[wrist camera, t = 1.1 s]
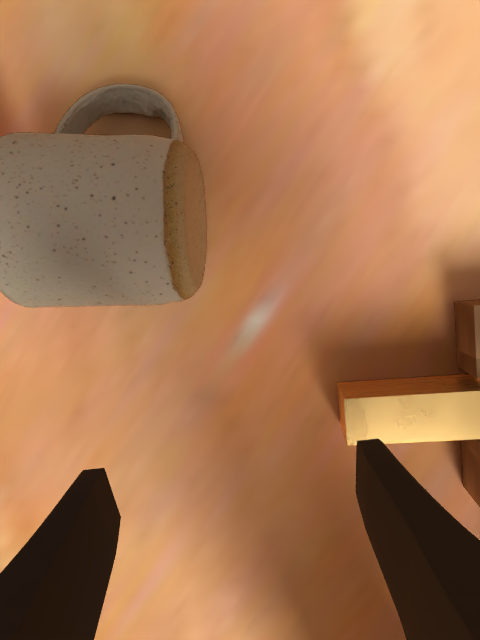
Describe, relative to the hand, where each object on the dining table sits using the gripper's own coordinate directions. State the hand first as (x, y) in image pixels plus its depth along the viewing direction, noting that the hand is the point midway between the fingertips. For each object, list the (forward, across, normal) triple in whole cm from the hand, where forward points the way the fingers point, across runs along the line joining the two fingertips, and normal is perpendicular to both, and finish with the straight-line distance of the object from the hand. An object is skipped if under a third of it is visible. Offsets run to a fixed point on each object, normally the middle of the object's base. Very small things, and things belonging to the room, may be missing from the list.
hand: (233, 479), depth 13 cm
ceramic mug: (+15, +4, -5) cm, 16 cm away
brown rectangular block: (+9, -9, +5) cm, 13 cm away
